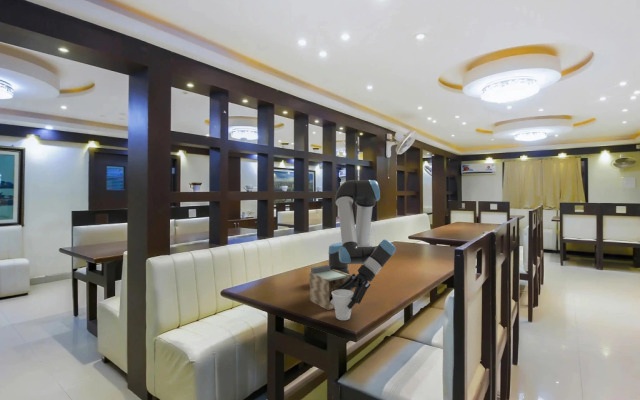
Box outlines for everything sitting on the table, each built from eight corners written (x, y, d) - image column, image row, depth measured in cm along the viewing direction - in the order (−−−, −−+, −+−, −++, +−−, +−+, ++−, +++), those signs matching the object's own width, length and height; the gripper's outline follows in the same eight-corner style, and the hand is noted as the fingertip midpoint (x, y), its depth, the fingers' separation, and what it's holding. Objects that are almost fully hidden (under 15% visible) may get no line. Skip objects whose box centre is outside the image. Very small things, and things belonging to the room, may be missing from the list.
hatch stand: (309, 300, 159) (309, 273, 159) (333, 295, 167) (333, 268, 167) (328, 310, 146) (327, 280, 145) (352, 303, 154) (352, 275, 153)
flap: (309, 274, 161) (308, 268, 161) (328, 271, 168) (328, 264, 168) (325, 281, 149) (325, 274, 149) (346, 277, 155) (346, 270, 155)
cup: (352, 313, 142) (352, 289, 142) (356, 322, 132) (356, 296, 132) (330, 313, 142) (330, 289, 141) (332, 323, 132) (332, 296, 131)
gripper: (388, 282, 130) (354, 324, 125) (362, 269, 152) (333, 304, 148) (376, 270, 128) (341, 313, 124) (352, 259, 151) (322, 294, 146)
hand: (337, 308), depth 136 cm, fingers open, 11 cm apart
